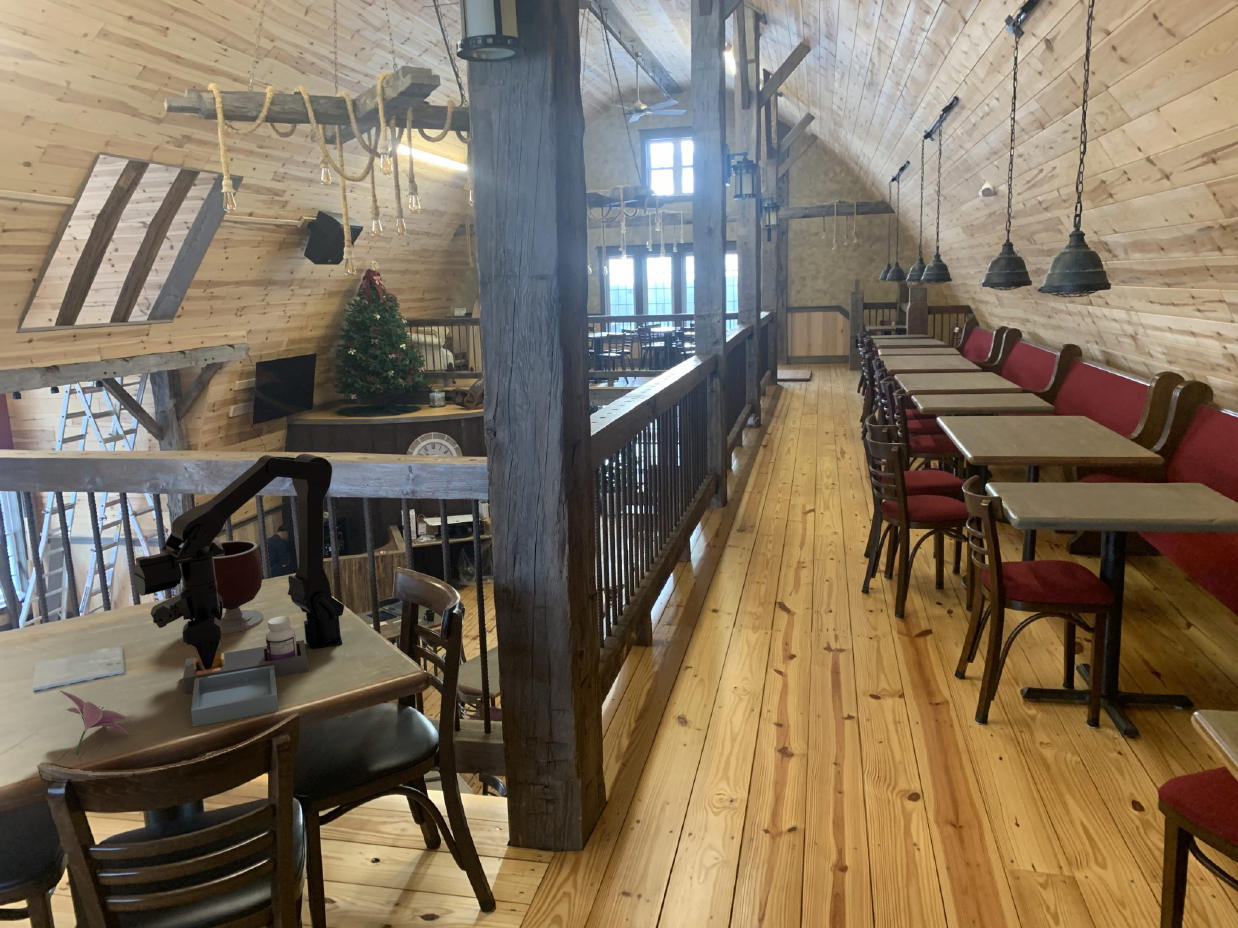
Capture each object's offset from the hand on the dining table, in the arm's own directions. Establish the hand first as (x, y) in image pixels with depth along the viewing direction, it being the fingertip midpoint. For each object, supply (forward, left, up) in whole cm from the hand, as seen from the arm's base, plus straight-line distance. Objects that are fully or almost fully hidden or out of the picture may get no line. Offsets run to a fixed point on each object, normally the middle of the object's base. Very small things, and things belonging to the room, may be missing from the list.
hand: (208, 659), depth 169 cm
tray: (-4, +13, -4) cm, 14 cm away
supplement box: (0, 0, -4) cm, 4 cm away
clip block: (-6, 0, -4) cm, 8 cm away
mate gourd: (-3, -30, -4) cm, 31 cm away
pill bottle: (-13, 0, -4) cm, 14 cm away
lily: (+16, +18, -4) cm, 25 cm away
